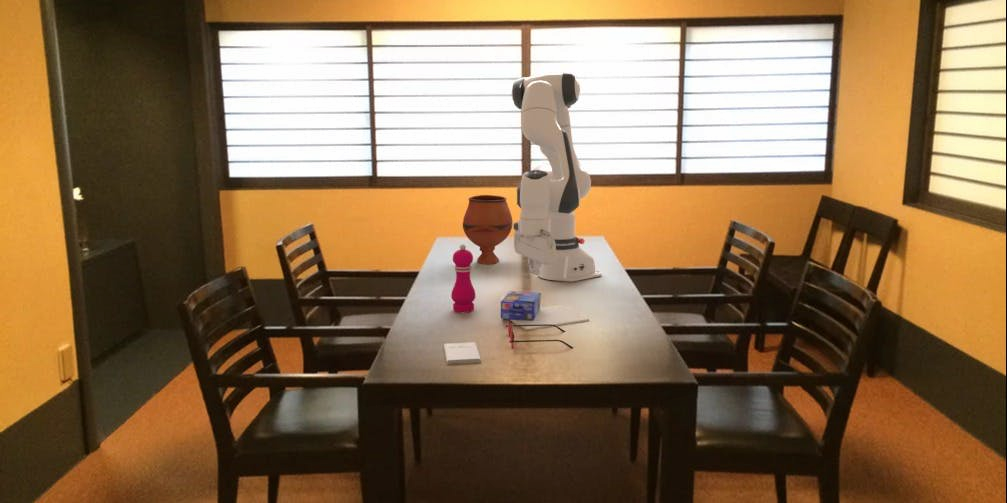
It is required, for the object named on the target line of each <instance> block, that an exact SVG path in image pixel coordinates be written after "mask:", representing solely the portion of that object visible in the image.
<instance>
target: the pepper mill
mask: <svg viewBox="0 0 1007 503" xmlns="http://www.w3.org/2000/svg"><path fill="white" fill-rule="evenodd" d="M466 248H467V246H466V245H465V244H463V243H462V244H460V245H459V249H458V250H456V251H455V252H454V253H453V255H452V262H453V263H454V264H455V265H454V271H455V275H456V278H455V283H454V285H453V288H452V289H451V296H450V297H451V299H452V301H453V302H454V303H453V304H452V305H453V306H452V307H453V308H452V310H453V311H454V312H455V313H462V312H464V313H471V312H473V311H474V310H475V304H474V300H475V299H476V291H475V288H474V285H473V284H472V281H471V271H472V270H473V269H472V265H471V264H472V263H473V260H474V256H473V253H472V252H471V251H470V250H468V249H466Z"/></svg>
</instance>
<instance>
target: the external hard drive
mask: <svg viewBox="0 0 1007 503" xmlns="http://www.w3.org/2000/svg"><path fill="white" fill-rule="evenodd" d="M443 349H444V355H445V360H446V364H447V365H453V364H452V363H459V364H472V363H471V362H478V363H481V362H482V359H481V356H480V353H479V350H478V347H477V343H476V342H473V341H469V342H453V343H452V342H451V343H444V344H443Z"/></svg>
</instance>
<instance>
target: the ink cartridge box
mask: <svg viewBox="0 0 1007 503" xmlns="http://www.w3.org/2000/svg"><path fill="white" fill-rule="evenodd" d="M541 297H542V294H541V292H534V291H533V292H532V291H520V290H518V291H517V290H510V291H508V293H506V295H505V296H504V297H503V299H502V300H501V301H500V319H501V320H509V319H512V320H513V319H516V320H530V321H534V319H535V317H536V315H537V313H538V312H539V310H540V308H541V301H542V300H541Z"/></svg>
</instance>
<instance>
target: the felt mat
mask: <svg viewBox="0 0 1007 503" xmlns="http://www.w3.org/2000/svg"><path fill="white" fill-rule="evenodd" d="M509 320H510V321H511V322H513V323H514V324H515V325H544V324H552V325H556V326H558V327H559V326H562V325H570V324H577V323H584V322H589V321H590V318H588V317H586V316H584V315H582V314H580V313H578V312H576V311H574V310H572V309H570V308H568V307H566V306H564V305H563V304H560V305H553V306H545V307H540V310H539V312H538V313H537V315H536V317H535V319H534V321H530V320H516V319H513V320H512V319H508V321H509ZM551 327H552V326H520V328H522V329H524V330H526V331H531V330H537V329H543V328H544V329H545V328H551Z"/></svg>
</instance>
